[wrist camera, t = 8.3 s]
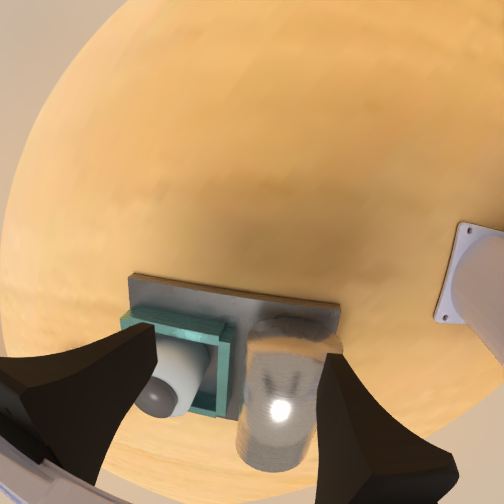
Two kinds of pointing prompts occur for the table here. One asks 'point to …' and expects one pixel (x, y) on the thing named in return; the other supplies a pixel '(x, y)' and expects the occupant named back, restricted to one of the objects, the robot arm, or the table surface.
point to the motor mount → (248, 359)
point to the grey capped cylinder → (174, 377)
